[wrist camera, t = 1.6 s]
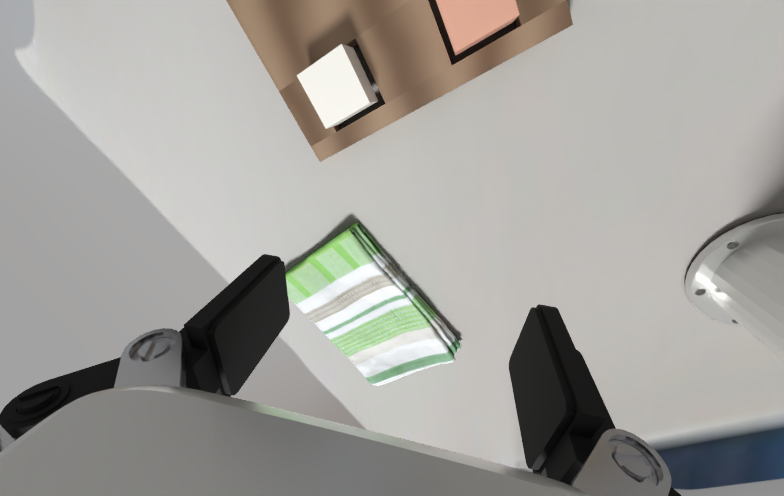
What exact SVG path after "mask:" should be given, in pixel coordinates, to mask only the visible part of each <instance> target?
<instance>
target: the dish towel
mask: <svg viewBox="0 0 784 496" xmlns="http://www.w3.org/2000/svg"><path fill="white" fill-rule="evenodd" d="M285 274H286V283H287V293H288V297H289V298H290V299H291V300H292V301H293V302H294V303H295V304H296V305H297V306H298V307H299V308H300V309H301V311H302V312H303V313H304V314H305V315H306V316H307V317H308V318H309V319H310V320H311V321H312V322H314V323H315V324H316V325H317V326H318V327H319V328H320V329H321V331H322V332H323V333H324V334H325V335H326V336H327V337H328V338H329V339H330V340H331V342H332V343H333V344H334V345H335V346H336V347H337V348H338V349H339V350H340V351H341V352H342V353H344V354H345V355H346V356H347V357H348V358H349V359H350V360H351V361H352V362H353V364H354V365H355V366H356V367H357V368H358V369H359V370H360V371H361V372H362V374H363V375H364V376H365V378H366V379H367V380H368V382H369V383H371V384H373V385H375V386H381V385H384V384H387V383H389V382H391V381H394V380H397V379H399V378H401V377H404V376H406V375H409V374H412V373H414V372H417V371H419V370H423V369H426V368H429V367H432V366H436V365H439V364H447V363H452V362H454V361H455V357H454V355H455V354H456V353H457V350H459V349H460V347H461V346H462V345H461V344H460V343H459V341H458V340H457V338H456V337H455V336H454V335H453V334H452V332H451V331H450V330H449V329H448V328H447V326H446V325H445V323H444V322H443V321H442V320H441V319H440V318H439V317H438V315H437V314H436V313H435V312H434V311H433V310H432V309H431V307H430V306H428V304H427V303H426V302H425V301H424V300H423V299H422V298H421V297H420V296H419V295H418V294H417V293H416V292H415V291H414V290H413V289H412V287H411V286H410V285H409V283H408V282H407V281H406V280H405V278H404V277H403V276H402V274H401V273H400V271H399V270H398V269H397V268H396V266H395V265H394V264H393V263H392V261H391V260H390V259H389V258H388V257H387V256H386V255H385V253H384V252H383V251H382V250H381V249H380V247H379V246H378V245H377V244H376V242H375V241H374V240H373V239H372V238H371V236H370V235H369V234H368V233H367V232H366V231H365V230H364V228H363V227H362V226H361V225H360V224H359V223H355V224H353V225H352V226H351V227H350V228H348V229H347V230H345V231H344V232H342V233H340V234H339V235H338V236H336V237H335V238H334V239H332V240H331V241H329V242H328V243H326V244H325V245H323V246H322V247H320V248H319V249H317V250H316V251H315V252H313V253H312V254H311V255H309V256H308V257H307V258H305V259H304V260H303V261H302V262H300V263H299V264H297V265H296V266H294V267H293V268H292V269H290V270H289V271H287V272H286V273H285Z"/></svg>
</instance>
